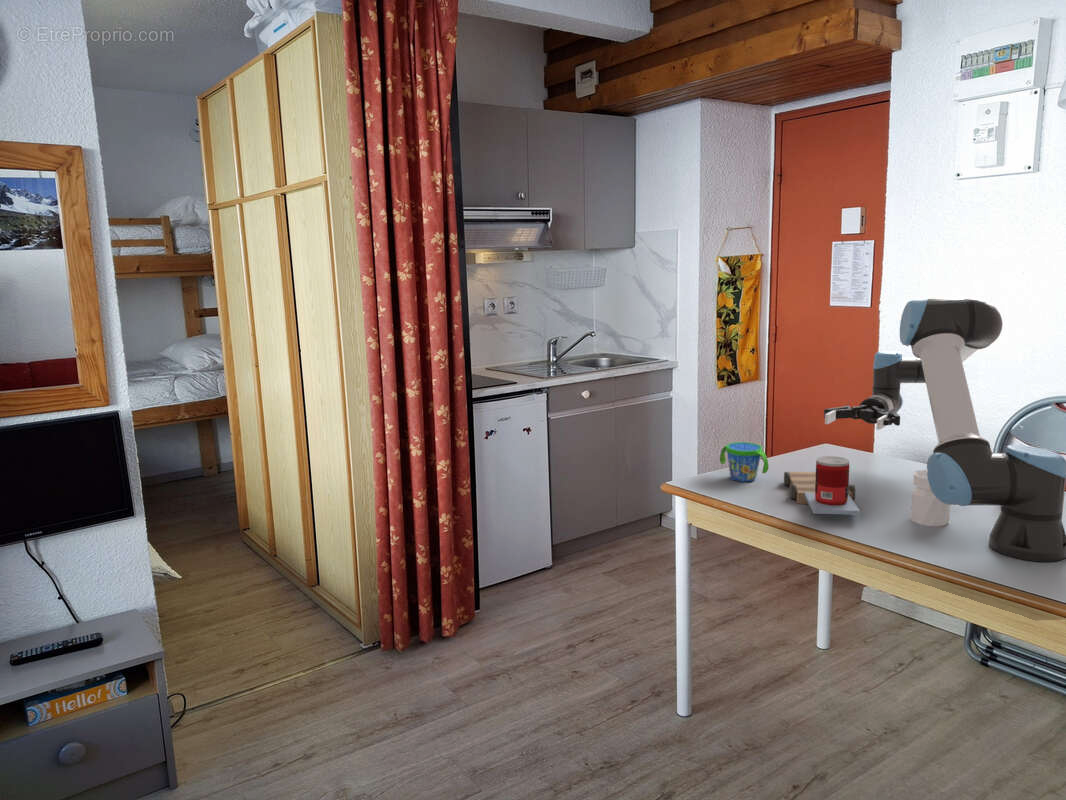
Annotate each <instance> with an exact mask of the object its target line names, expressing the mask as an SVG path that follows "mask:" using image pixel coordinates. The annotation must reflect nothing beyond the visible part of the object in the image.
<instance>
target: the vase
mask: <svg viewBox="0 0 1066 800" xmlns="http://www.w3.org/2000/svg"><path fill="white" fill-rule="evenodd" d="M927 472H928V470H927V469H918V470H916V471H914V472H913V482H912V484H913V485H914V486H915V488H914V489H913V490H912V491H911V510H910V520H911V521H912V522H913V523H916V524H919V525H921V526H927V527H944V526H947V525H949V523H950V515H951V505H949V504H945V503H942V502H941V501H940V500H938V499H937V498H936V496H935V495H934V494H933V492H932V490H931V487H930V485H929V481H928V477H927Z"/></svg>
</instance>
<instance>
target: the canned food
mask: <svg viewBox="0 0 1066 800" xmlns="http://www.w3.org/2000/svg"><path fill="white" fill-rule="evenodd" d="M815 463H816V464H815V472H816V481H815V499H816V501H817V502H819V503H821V504H825V505H843V504H845V503H846V502H847V500H848V486H849V483H850V482H849V481H850V479H849V478H850V460H849V459H847V458H845V457H840V456H833V455H831V456H829V455H827V456H826V455H825V456H821V457H817V458H816V460H815Z"/></svg>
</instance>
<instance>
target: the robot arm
mask: <svg viewBox="0 0 1066 800" xmlns="http://www.w3.org/2000/svg"><path fill="white" fill-rule="evenodd" d="M902 310H903V311H902V313H901V318H900V323H899V341H900V343H901V345H903V346H906V347H909V346H910V347H911V352H912V355H913V356H914V357H903V355H902V352H900V351H895V350H881V351H880V350H879V351H877V352H876V353H875V354H874V356H873V366H872V369H873V370H872V392H871V393H872V394H871V396H869V397H867V398H866V399H864V400H862V401H861V402H860V403H859V405H857V406H852V407H851V406H850V405H849V404H848V405H844V406H838V407H831V408H824V409H823V418H824V424H825V425H829V424H831V423H834V422H836V420H840V419H842V420H843V419H852V420H862V421H863V422H865V423H868V424H870V425H871V424H872V425H875V424H876V430H881V429H883V428H885V427H887V426H892V425H893V424H894V426H898V427H899V426H900V425H901V415H900V414H899V413H898V412H899V411H900V410H901V408H902V406H903V404H904V400H903V396H902V395H901V384H925V385H926V390H927V396H928V399H929V405H930V410H931V413H932V419H933V423H934V429H935V433H936V438H937V445H935V446H934V448H933V450H932V454H931V455H929V457H928V459H927V462H926V470H928V472H927V477H928V481H929V485H930V487H931V490H932V492H933V494H934V495H935V496H936V498H937V499H938V500H940V501H941V502H942V503H945V504H949V505H953V506H959V507H966V506H1000V512H999V515H998V517H997V518H996V520H995V523H994V526H993V528H992V529H991V531H990V532H989V539H988V545H989V546H990V548H991V549H992V550H994V551H996V552H999V553H1000V554H1002V555H1005V556H1008V557H1012V558H1015V559H1019V560H1024V561H1029V562H1030V561H1031V562H1044V563H1045V562H1051V563H1052V562H1058V561H1062V560H1064V559H1066V531H1065V527H1064V524H1063V521H1062V520H1063V510H1064V509H1063V508H1064V501H1065V492H1066V491H1065V490H1066V458H1065V457H1064V456H1063V455H1061V454H1059V453H1057V452H1054V451H1051V450H1050V449H1049V450H1048V449H1045V448H1041V447H1037V446H1030V445H1025V444H1009V445H1007V446H1006V447H1005V449H1004V452H992V451H993V450H992V449H991V444H990V442H989V440H988V439H985V438H983V437H982V436H980V431H979V427H978V426H979V425H978V423H977V418H976V415H975V411H974V406H973V402H972V397H971V394H970V389H969V385H968V380H967V377H966V373H965V372H966V371H965V369H964V365H963V363H964V361H966V360H967V359H968V358H969V357H971V356H972V355H973V354H974V353H976V352H977V351H978V350H982V349H985V348H988V347H990V346H991V345H992V344H993V343H994V342H996V341H997V340H998V338H999V337H1000V335H1001V333H1002V330H1003V319H1002V315H1001V313H1000V312H999V310H998V309H997V307H996V306H994V304H992V303H991V302H990V301H987V300H986V299H982V298H980V297H975V296H974V297H973V296H965V297H942V298H941V297H940V298H939V297H938V298H928V297H924V298H913V299H911V300H909V301H908V302H907V303H906V304H905V305H904V308H903V309H902Z"/></svg>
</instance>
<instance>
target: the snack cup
mask: <svg viewBox="0 0 1066 800" xmlns="http://www.w3.org/2000/svg"><path fill="white" fill-rule="evenodd" d="M726 453H727V457H726ZM726 458H727V459H726ZM760 459H761V460H762V462H763V468H762V471H761V473H762V474H766V473H767V472H768V470H769V460H768V457H767V455H766V453H765V452H764V451H763V446H762V445H760V444H758V443H754V442H746V441H737V442H731V443H728V444H726V445H725V446H723V447H722V449H721V451H720V456H719V462H720V464H722V465H723V464H726V461H727V462H728V468H729V476H730V478H731V480H733V481H736V482H742V483H744V482H746V483H747V482H754V481H755V480H756V479H757V477H758V470H759V466H760V461H761V460H760Z"/></svg>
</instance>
